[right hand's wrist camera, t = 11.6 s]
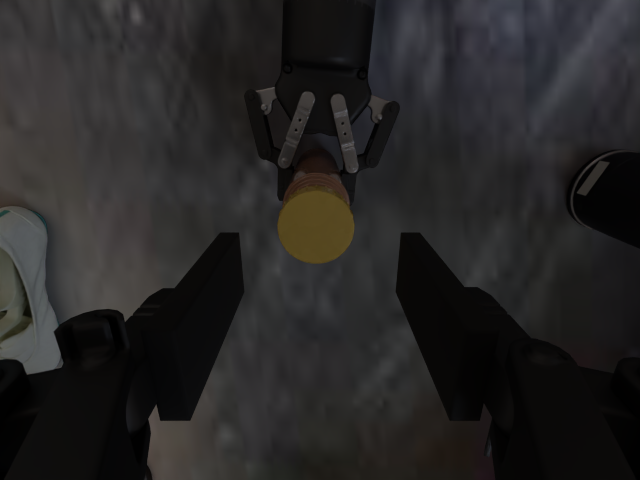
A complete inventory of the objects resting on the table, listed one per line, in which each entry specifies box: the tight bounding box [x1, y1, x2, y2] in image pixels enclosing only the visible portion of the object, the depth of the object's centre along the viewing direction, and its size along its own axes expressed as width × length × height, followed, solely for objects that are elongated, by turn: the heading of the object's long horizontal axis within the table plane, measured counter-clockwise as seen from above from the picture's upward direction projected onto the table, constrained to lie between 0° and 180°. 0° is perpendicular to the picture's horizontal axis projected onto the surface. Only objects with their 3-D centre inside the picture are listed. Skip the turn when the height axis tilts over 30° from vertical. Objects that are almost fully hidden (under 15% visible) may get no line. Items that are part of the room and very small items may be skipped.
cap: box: [277, 185, 355, 264], centre depth 20 cm, size 4×4×2 cm
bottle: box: [283, 148, 350, 206], centre depth 29 cm, size 5×5×21 cm
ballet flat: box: [0, 206, 61, 374], centre depth 41 cm, size 8×24×8 cm, turn 168°
